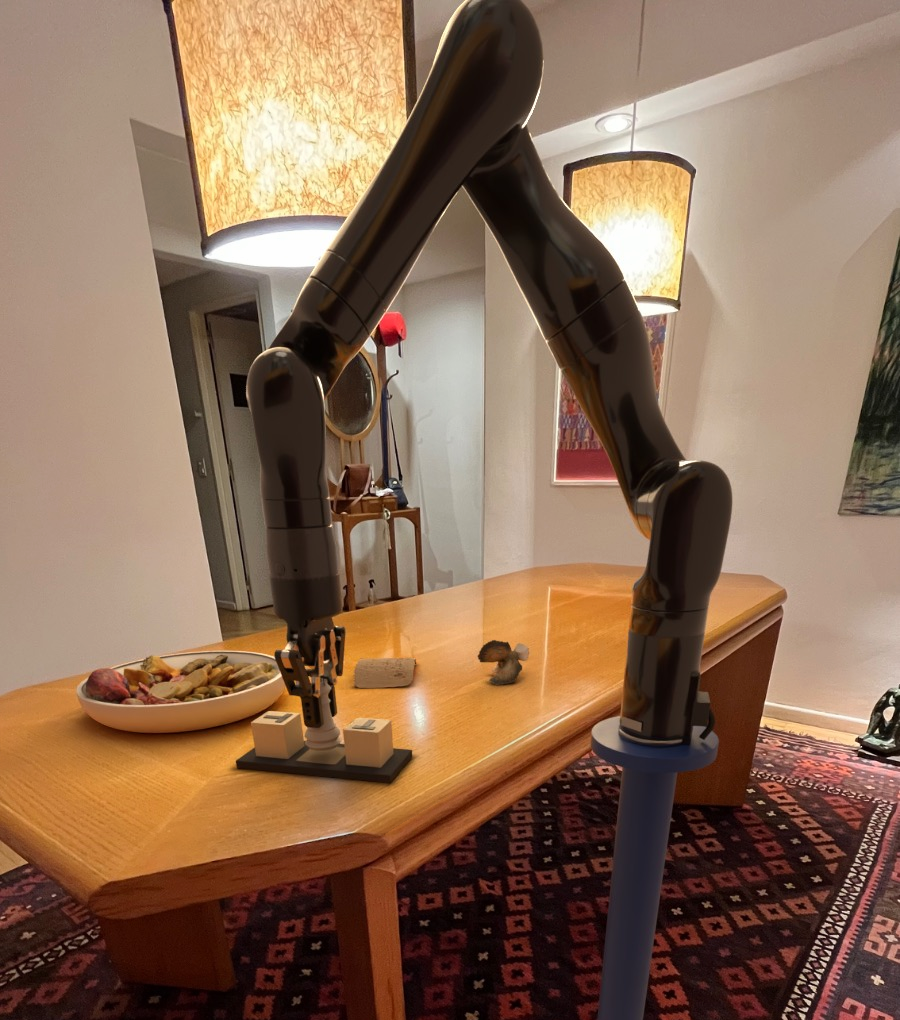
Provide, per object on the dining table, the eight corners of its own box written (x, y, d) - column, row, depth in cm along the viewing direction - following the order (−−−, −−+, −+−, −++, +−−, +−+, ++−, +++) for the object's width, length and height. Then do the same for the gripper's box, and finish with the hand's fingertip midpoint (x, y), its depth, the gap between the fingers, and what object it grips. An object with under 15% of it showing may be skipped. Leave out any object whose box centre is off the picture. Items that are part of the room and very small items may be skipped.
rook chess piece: (320, 736, 85) (313, 674, 81) (349, 741, 83) (343, 678, 79) (297, 748, 81) (288, 684, 78) (327, 754, 79) (319, 688, 76)
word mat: (412, 756, 84) (412, 748, 84) (390, 783, 77) (390, 774, 77) (269, 744, 89) (268, 736, 88) (236, 768, 82) (235, 759, 82)
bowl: (232, 669, 123) (225, 625, 120) (328, 703, 104) (322, 652, 100) (56, 708, 105) (42, 658, 101) (133, 759, 85) (117, 700, 82)
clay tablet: (363, 665, 124) (362, 650, 123) (418, 664, 124) (417, 649, 122) (352, 688, 111) (350, 672, 110) (413, 687, 111) (412, 671, 109)
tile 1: (304, 746, 85) (300, 712, 83) (288, 759, 82) (283, 724, 80) (273, 743, 87) (268, 709, 85) (256, 756, 83) (250, 721, 81)
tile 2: (393, 753, 82) (391, 718, 80) (380, 767, 79) (378, 731, 77) (360, 750, 84) (357, 716, 82) (346, 764, 80) (342, 728, 78)
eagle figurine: (482, 661, 119) (466, 665, 111) (505, 628, 117) (491, 629, 108) (515, 688, 119) (502, 693, 110) (540, 655, 116) (528, 658, 108)
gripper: (306, 581, 66) (325, 745, 74) (361, 562, 78) (372, 704, 86) (238, 580, 68) (263, 739, 76) (302, 562, 80) (318, 701, 88)
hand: (321, 720), depth 81 cm, fingers closed on rook chess piece, 3 cm apart
